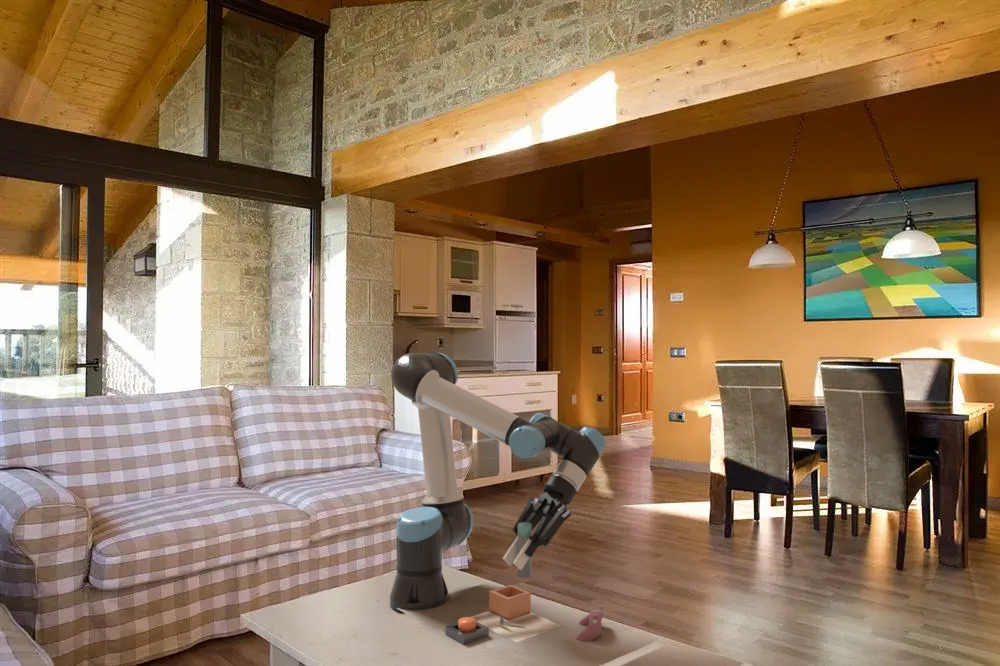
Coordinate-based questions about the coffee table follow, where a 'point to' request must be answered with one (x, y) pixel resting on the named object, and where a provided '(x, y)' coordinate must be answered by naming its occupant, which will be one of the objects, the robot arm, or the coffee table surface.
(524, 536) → the marker
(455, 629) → the button housing
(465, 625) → the button
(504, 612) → the pen cup
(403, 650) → the coffee table surface
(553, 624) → the board
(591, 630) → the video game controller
